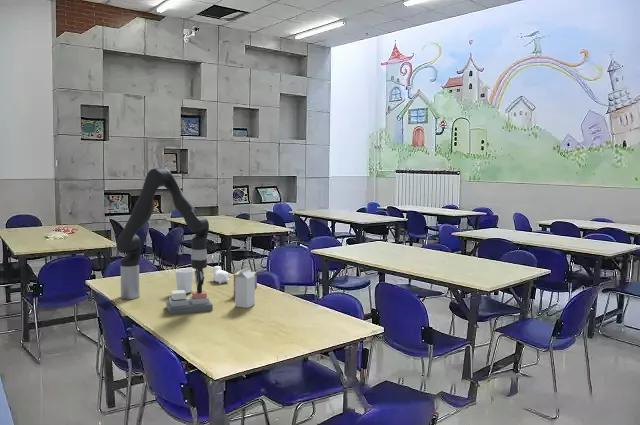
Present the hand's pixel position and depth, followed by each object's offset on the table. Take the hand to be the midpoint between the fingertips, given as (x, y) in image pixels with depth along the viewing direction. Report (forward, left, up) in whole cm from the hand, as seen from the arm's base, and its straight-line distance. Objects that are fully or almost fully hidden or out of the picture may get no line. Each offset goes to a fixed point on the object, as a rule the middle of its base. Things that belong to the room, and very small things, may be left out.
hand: (199, 292), depth 257 cm
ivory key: (-10, 0, -2) cm, 10 cm away
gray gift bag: (+30, +24, -8) cm, 39 cm away
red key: (0, 0, -3) cm, 3 cm away
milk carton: (+22, -4, -8) cm, 24 cm away
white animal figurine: (+22, +53, -8) cm, 58 cm away
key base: (-5, 0, -8) cm, 9 cm away
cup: (-2, +32, -8) cm, 33 cm away
